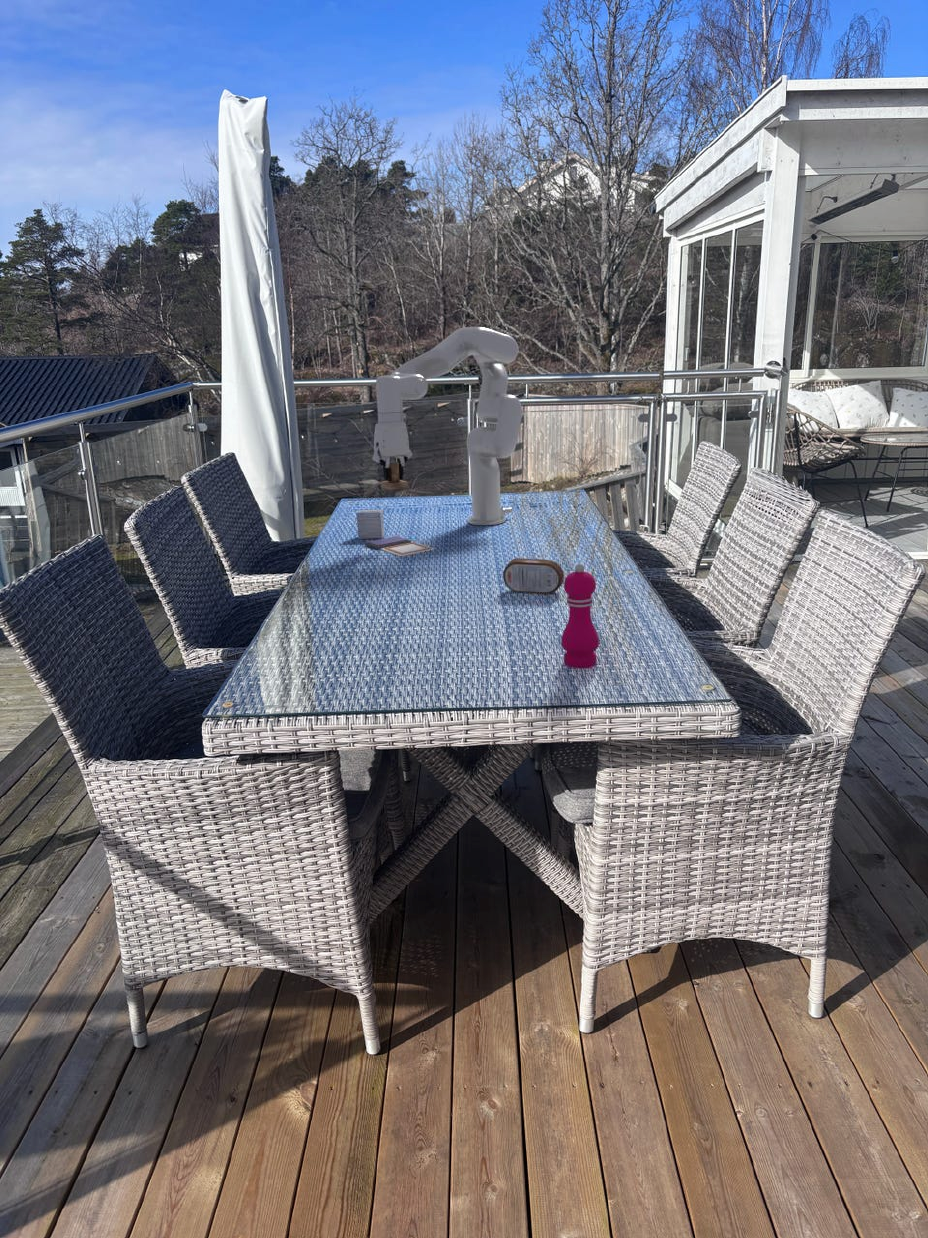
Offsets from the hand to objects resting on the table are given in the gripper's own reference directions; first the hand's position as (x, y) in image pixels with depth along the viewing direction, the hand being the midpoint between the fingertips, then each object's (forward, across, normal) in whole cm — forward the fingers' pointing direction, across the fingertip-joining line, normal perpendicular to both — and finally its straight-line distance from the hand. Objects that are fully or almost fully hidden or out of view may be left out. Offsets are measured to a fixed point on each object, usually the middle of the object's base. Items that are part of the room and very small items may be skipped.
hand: (393, 479), depth 271 cm
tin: (+21, +3, +70) cm, 73 cm away
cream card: (+20, +2, +9) cm, 22 cm away
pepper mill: (+21, +26, +114) cm, 119 cm away
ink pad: (+20, +3, -1) cm, 20 cm away
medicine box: (+20, +1, -14) cm, 24 cm away
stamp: (+3, 0, 0) cm, 3 cm away
